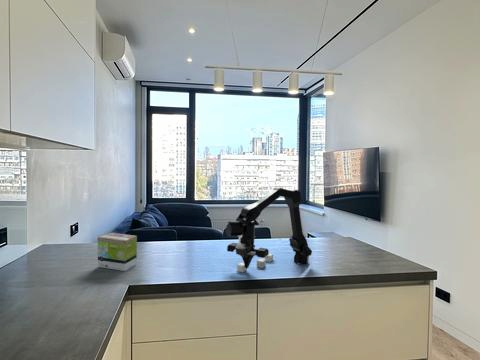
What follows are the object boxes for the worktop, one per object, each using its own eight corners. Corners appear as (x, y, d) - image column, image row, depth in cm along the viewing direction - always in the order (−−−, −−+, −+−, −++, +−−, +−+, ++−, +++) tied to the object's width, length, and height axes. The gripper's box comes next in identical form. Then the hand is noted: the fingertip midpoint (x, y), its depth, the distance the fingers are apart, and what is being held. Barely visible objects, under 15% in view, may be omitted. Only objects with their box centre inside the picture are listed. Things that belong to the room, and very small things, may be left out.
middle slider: (265, 265, 155) (265, 259, 155) (262, 267, 152) (262, 261, 152) (259, 264, 157) (260, 258, 156) (256, 266, 153) (256, 260, 153)
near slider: (246, 269, 149) (246, 263, 149) (242, 272, 145) (243, 266, 145) (240, 268, 150) (241, 262, 150) (237, 271, 147) (237, 264, 146)
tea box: (96, 267, 149) (96, 237, 148) (110, 261, 159) (110, 232, 157) (125, 271, 145) (125, 240, 144) (137, 264, 155) (137, 234, 154)
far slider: (272, 259, 164) (273, 254, 164) (270, 261, 161) (270, 256, 160) (267, 258, 166) (267, 253, 165) (264, 260, 162) (264, 255, 162)
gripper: (221, 235, 142) (220, 269, 143) (260, 242, 134) (258, 278, 135) (233, 230, 152) (232, 262, 153) (269, 236, 144) (268, 270, 145)
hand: (246, 268), depth 146 cm, fingers closed
